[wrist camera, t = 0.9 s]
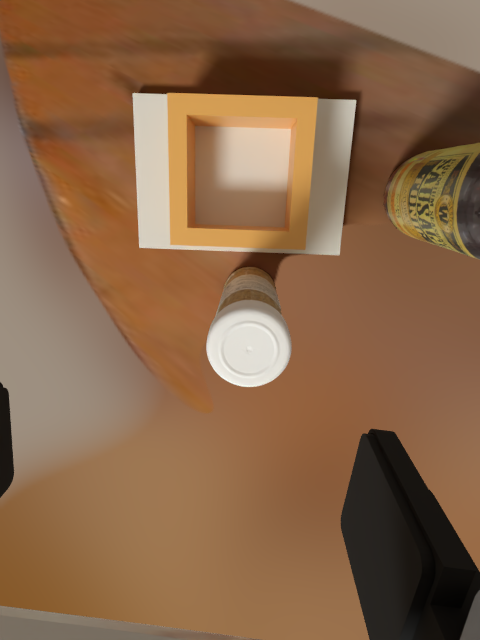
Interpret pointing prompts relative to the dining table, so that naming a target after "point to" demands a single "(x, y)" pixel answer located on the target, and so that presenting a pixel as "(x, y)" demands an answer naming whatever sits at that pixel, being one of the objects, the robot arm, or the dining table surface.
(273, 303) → the sprinkles bottle
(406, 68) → the dining table surface
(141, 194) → the socket base
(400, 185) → the sauce bottle
